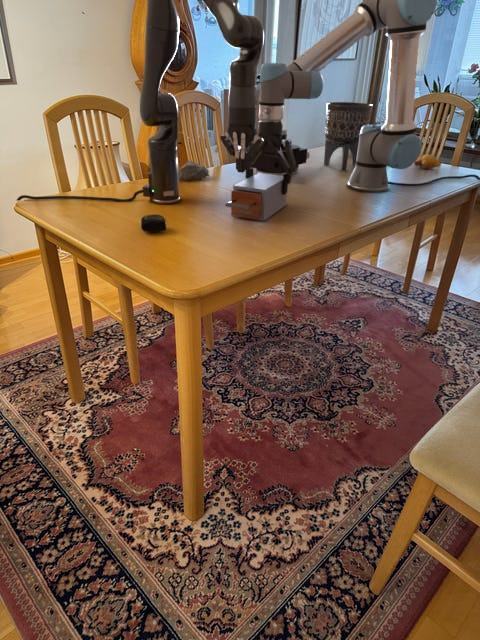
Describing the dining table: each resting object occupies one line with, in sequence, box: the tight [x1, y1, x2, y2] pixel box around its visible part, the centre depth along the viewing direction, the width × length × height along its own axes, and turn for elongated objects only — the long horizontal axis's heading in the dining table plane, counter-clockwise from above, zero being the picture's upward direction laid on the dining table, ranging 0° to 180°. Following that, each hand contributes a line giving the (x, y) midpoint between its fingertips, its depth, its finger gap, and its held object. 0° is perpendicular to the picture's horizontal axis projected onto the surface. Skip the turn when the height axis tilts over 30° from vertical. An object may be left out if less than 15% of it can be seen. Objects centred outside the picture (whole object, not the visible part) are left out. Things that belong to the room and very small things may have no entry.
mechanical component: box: [247, 127, 311, 176], centre depth 191 cm, size 22×21×30 cm
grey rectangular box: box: [232, 173, 288, 222], centre depth 146 cm, size 20×11×10 cm, turn 155°
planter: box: [323, 101, 374, 172], centre depth 204 cm, size 20×20×26 cm
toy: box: [413, 154, 442, 170], centre depth 212 cm, size 11×6×15 cm
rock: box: [178, 160, 210, 182], centre depth 182 cm, size 13×9×6 cm, turn 131°
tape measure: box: [140, 213, 167, 233], centre depth 128 cm, size 7×7×4 cm
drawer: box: [224, 189, 262, 220], centre depth 142 cm, size 24×9×8 cm, turn 154°
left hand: (241, 171), depth 129 cm, fingers closed
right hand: (267, 191), depth 151 cm, fingers open, 12 cm apart
